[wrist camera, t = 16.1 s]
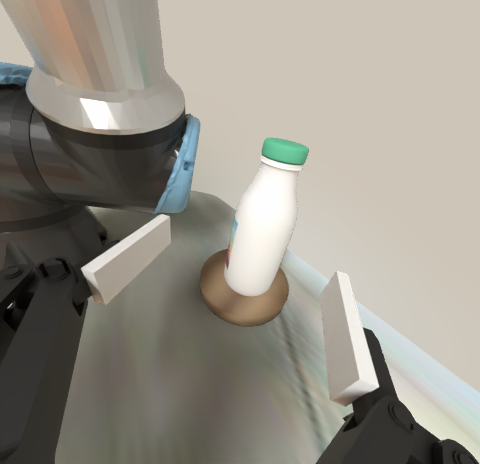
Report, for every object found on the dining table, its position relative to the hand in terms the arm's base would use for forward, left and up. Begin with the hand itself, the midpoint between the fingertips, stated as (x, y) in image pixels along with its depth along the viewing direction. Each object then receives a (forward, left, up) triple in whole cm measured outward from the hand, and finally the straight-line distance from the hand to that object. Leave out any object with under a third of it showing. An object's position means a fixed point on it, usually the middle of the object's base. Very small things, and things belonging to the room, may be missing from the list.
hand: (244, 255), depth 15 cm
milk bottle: (-1, +10, -13) cm, 16 cm away
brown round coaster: (-1, +10, -15) cm, 18 cm away
